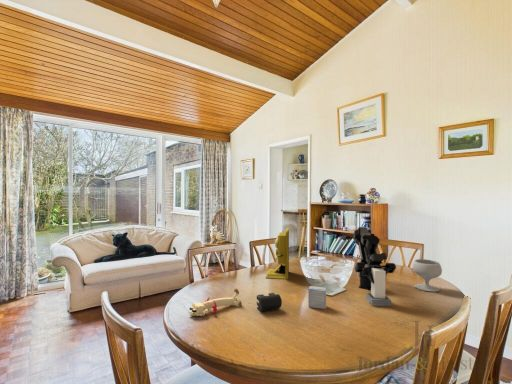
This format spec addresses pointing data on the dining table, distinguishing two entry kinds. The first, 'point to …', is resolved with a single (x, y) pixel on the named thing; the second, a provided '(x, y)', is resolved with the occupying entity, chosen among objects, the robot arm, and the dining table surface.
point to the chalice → (427, 273)
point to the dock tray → (378, 300)
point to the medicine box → (317, 297)
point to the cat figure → (214, 304)
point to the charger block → (378, 282)
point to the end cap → (269, 302)
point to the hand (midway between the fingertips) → (379, 283)
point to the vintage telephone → (281, 257)
